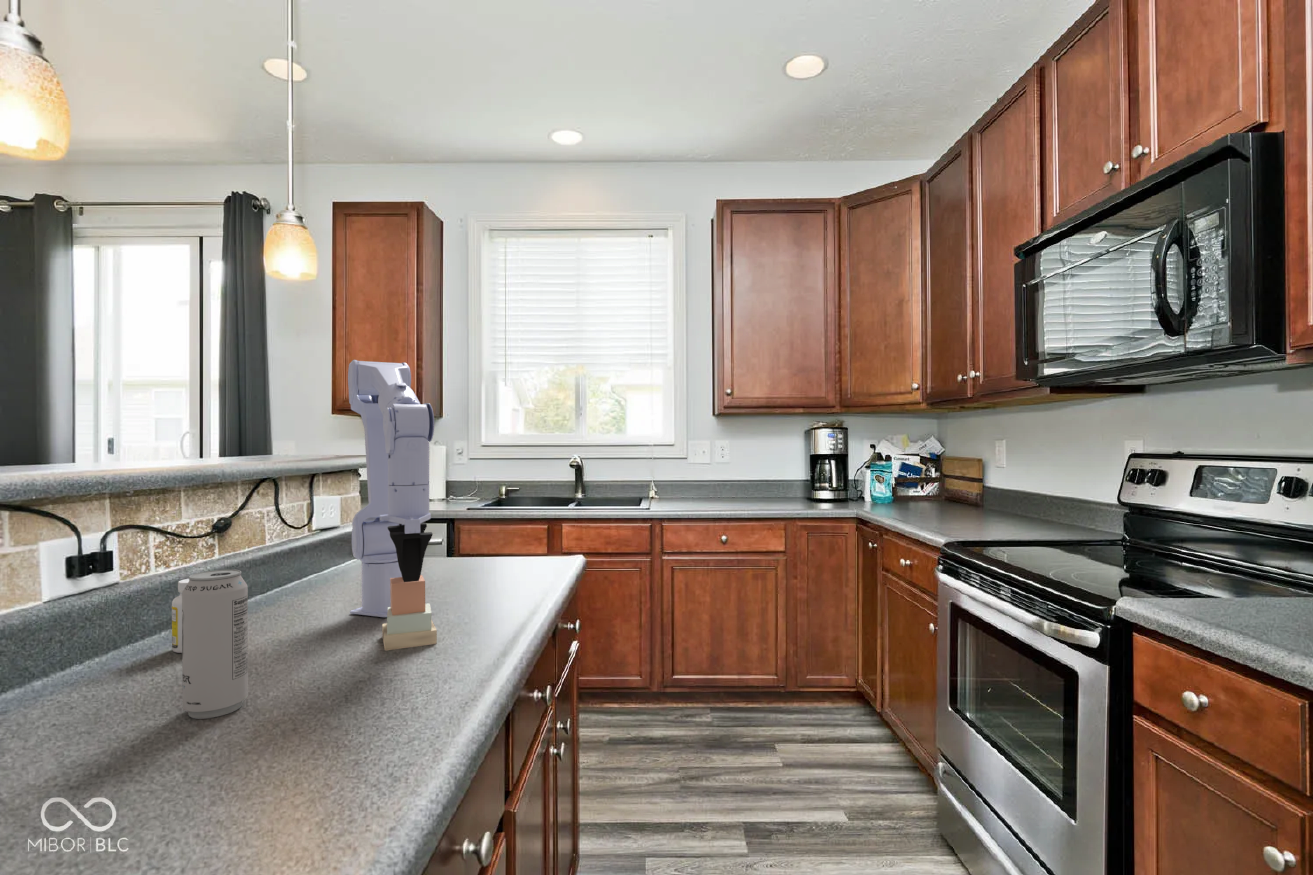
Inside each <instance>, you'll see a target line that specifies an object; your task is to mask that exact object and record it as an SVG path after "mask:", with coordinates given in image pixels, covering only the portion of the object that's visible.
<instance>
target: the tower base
mask: <svg viewBox="0 0 1313 875" xmlns="http://www.w3.org/2000/svg"><path fill="white" fill-rule="evenodd" d="M381 624H382V625H381V629H382V632H381V633H382V634H381V638H382V641H383V648H384V651H392V650H393V651H394V650H400V649H407V648H415V647H422V646H428V645H436V644H437V643H438V639H437V638H438V632H437V631H438V630H437V627H436V626H435V624H434V622H433V620H432V630H427V631H418V632H408V633H399V634H389V635H387V622H385V623H381Z"/></svg>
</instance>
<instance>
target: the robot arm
mask: <svg viewBox="0 0 1313 875" xmlns="http://www.w3.org/2000/svg"><path fill="white" fill-rule="evenodd" d="M347 386H348V387H347V388H348V402H349V404H350V410H351V411H353V412H355V413H357V414H358V415H360V417H361V421H362V425H363V429H364V445H365V446H364V447H365V463H366V481H367V497H368V498H367V500H368V504H366V506H364V507H362V508H361V509H360V510H359V511H358V512H356V513H355V515H354V517H353V519H352V529H351V549H352V555H353V557H354V558H355V559H356V560H357V561H360V562H361V607H358V608H355V609H352V610H349V614H351V615H360V616H361V615H362V616H369V617H370V616H371V617H380V618H387V611H388V607H391V598H390V578H397V577H402V578H403V581H404V582H413V581H419V579H420V575H422V570H423V564H424V558H425V553H426V551H427V548H428V545H429V543H430V541H431V539H432V537H433V532H432V531H430V532H429V531H427V532H425V530H426V529H427V527H428V526H427V523H426V521H429V520H431V519H432V513H431V512H430V443H431V442H432V440H433V437H434V435H435V434H434V433H435V415H434V409H433V406H432V404H431V403H430V402H429V403H428V402H427V403H426V402H424V403H423V404H421V402H420V400H419V399H418V396H417V395H416V393H415V392H414V390H413V389H412V387H411V386H412V373H411V368H410V366H409V364H408V363H406V362H381V361H366V360H365V361H364V360H357V359H353V360H351V362H350V363H349V364H348V372H347Z"/></svg>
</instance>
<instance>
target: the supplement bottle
mask: <svg viewBox="0 0 1313 875" xmlns="http://www.w3.org/2000/svg"><path fill="white" fill-rule="evenodd" d="M188 582H189V578H186V579H182V580H179V581H177V592H178V593H179V595H178V596H176V597H175V598H173V599H172V601H171V650H172V652H174V653H178V654H182V592H183V590H184V589H185V587H186V585H187V584H188Z"/></svg>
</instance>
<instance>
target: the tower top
mask: <svg viewBox="0 0 1313 875" xmlns="http://www.w3.org/2000/svg"><path fill="white" fill-rule="evenodd" d="M432 621H433V620H432V608H431V603H428V602H427V603H425V611H424V612H416V613H408V614H400V615H392V611H391V607H388V611H387V617H386V623H387V635H389V634H399V633H408V632H418V631H427V630H432Z"/></svg>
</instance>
